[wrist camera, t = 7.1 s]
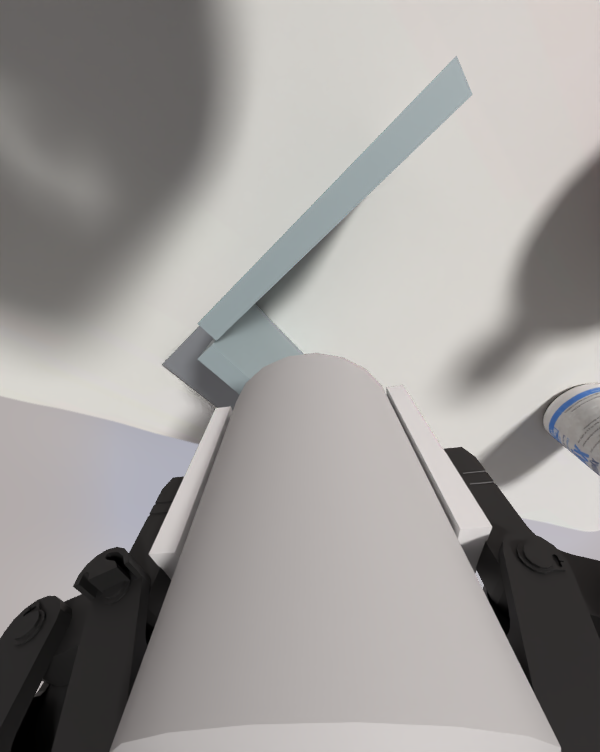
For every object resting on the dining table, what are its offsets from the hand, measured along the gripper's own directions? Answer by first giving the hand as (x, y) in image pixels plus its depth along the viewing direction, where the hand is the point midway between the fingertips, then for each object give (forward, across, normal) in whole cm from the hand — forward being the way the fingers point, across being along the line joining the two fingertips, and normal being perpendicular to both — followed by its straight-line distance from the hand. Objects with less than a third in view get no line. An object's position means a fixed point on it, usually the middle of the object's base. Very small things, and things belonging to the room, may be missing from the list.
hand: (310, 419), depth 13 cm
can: (+1, 0, 0) cm, 1 cm away
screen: (+20, +3, +3) cm, 21 cm away
